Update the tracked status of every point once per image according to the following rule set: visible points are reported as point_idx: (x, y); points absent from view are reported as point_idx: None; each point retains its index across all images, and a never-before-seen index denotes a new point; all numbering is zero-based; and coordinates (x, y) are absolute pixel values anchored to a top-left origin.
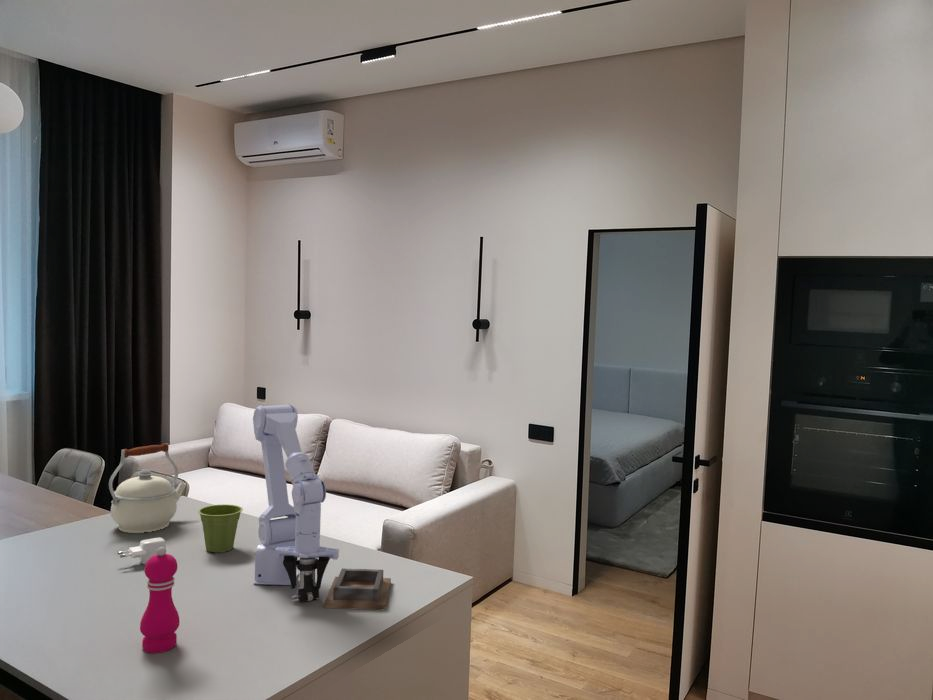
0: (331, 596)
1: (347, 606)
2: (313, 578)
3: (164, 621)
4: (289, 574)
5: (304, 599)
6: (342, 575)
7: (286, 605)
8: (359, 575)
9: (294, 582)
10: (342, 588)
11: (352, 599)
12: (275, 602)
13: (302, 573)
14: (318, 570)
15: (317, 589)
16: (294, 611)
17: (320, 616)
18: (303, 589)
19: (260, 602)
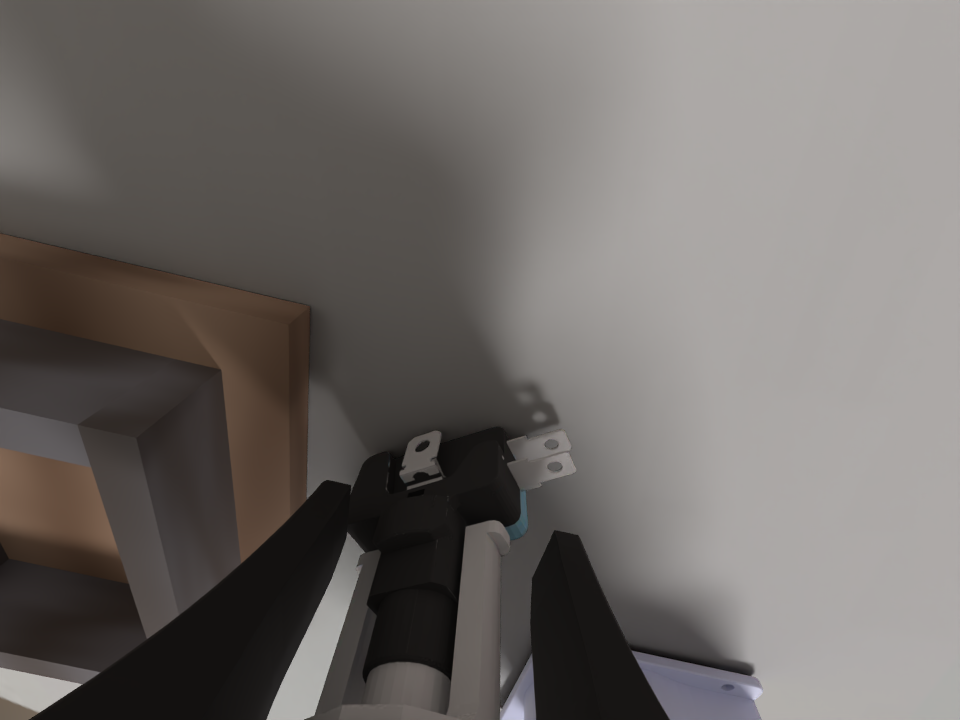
0: (250, 428)
1: (89, 261)
2: (361, 616)
3: None
4: (646, 706)
5: (468, 445)
6: (155, 631)
7: (611, 401)
8: (92, 626)
9: (558, 593)
10: (39, 414)
11: (41, 332)
12: (685, 461)
13: (467, 696)
14: (175, 709)
15: (338, 484)
16: (558, 278)
17: (310, 116)
18: (471, 517)
19: (796, 479)
